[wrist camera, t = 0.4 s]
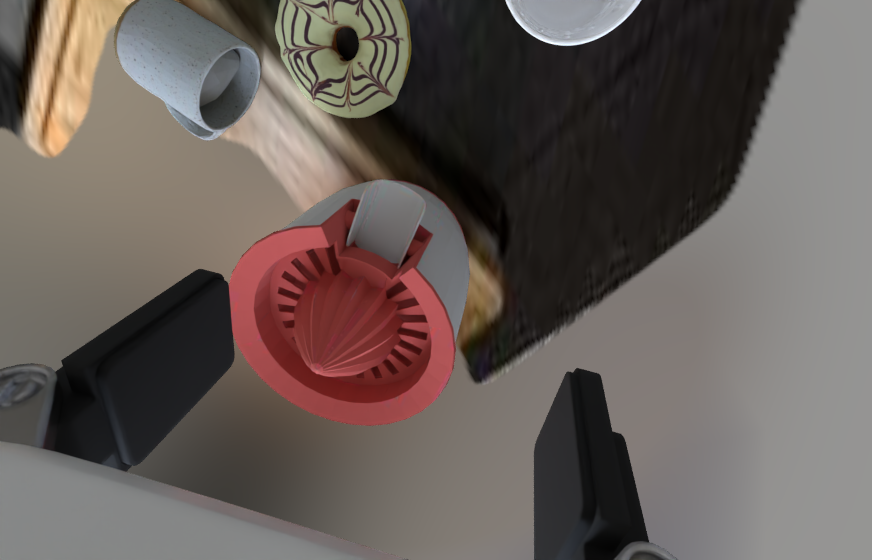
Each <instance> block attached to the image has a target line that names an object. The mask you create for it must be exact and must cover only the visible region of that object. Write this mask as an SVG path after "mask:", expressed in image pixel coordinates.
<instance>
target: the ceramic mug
mask: <svg viewBox="0 0 872 560" xmlns="http://www.w3.org/2000/svg"><path fill="white" fill-rule="evenodd" d="M114 46H115V54H116V57H117V58H118V61H119V63H120V65H121V66H122V68H123V69H124V70H125V71H126V73H127V74H128V75H129V76H130V77H131V78H132V79H133V80H135V81H136V82H137V83H138V84H139V85H141V86H142V87H144V88H145V89H146V90H148V91H149V92H151V93H153V94H154V95H156V96H157V97H159V98H160V99H162V100H163V101H164V102H165V104H166V106H167V109H168V110H169V111H170V112H171V114H172V115H173V117H174V118H175V119H176V120H177V121H178V122H179V123H180V124H181V125H182V126H183V127H184V128H185V129H187V130H188V131H189V132H190V133H192V134H193V135H195V136H197V137H199V138H201V139H203V140H212V139H215V138H217V137H218V136H220V135H221V134H222V133H224V132H225V131H226V129H227V128H229V127H231V126H232V125H234V124H235V123H236V122H237V121H239V119H240V118H241V117H242V116H243V115H244V114H245V112H246V111H247V110H248V108H249V107H250V105H251V103H252V101H253V99H254V97H255V94H256V91H257V89H258V85H259V80H260V71H261V67H260V61H259V57H258V55H257V53H256V52H255V50H254V49H253V48H252V47H251V46H250V45H248V44H247V43H245V42H244V41H242V40H240V39H239V38H237V37H235V36H234V35H232V34H230V33H229V32H227V31H225V30H224V29H222V28H221V27H219V26H217V25H216V24H214V23H212V22H210V21H209V20H207V19H205V18H203V17H202V16H200V15H199V14H197V13H196V12H194V11H193V10H191V9H190V8H188V7H186V6H185V5H183V4H181V3H179V2H176V1H174V0H135V1H134V2H132V3H131V4H130V5H128V6H127V7H126V9H125V10H124V12H123V13H122V14H121V16H120V17H119V19H118V22H117V25H116V28H115V33H114Z"/></svg>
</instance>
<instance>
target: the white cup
mask: <svg viewBox="0 0 872 560" xmlns="http://www.w3.org/2000/svg"><path fill="white" fill-rule="evenodd" d="M640 1H641V0H506V3H507V5H508V7H509V9H510V11H511V13H512V15H513V16H514V18H515V19H516V21H517V22H518V23H519V24H520V25H521V26H522V27H523V28H524V29H525V30H526V31H527V32H528V33H529V34H531V35H532V36H534V37H536V38H537V39H539V40H542V41H544V42H547V43H550V44H555V45H564V46H568V45H578V44H583V43H587V42H590V41H593V40H595V39H598V38H600V37H602V36H604V35H605V34H607V33H609V32H610V31H612V30H613V29H614V28H616V27H617V26H618V25H620V24H621V23H622V22H623V21H624V20H625V19H626V18H627V17H628V16H629V15H630V14H631V13H632V12H633V11H634V9H635V8H636V7H637V5H638V4H639V3H640Z"/></svg>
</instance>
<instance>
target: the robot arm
mask: <svg viewBox="0 0 872 560" xmlns="http://www.w3.org/2000/svg"><path fill="white" fill-rule="evenodd" d="M233 361H234V343H233V331H232V319H231V307H230V295H229V285H228V283H227V282H226V281H224V277H223V276H222V275H221V274H219V273H215V272H211V271H207V270H203V269H198V270H196V271H194V272H193V273H191V274H190V275H188V276H187V277H185V278H184V279H182V280H181V281H179V282H178V283H176V284H175V285H173V286H172V287H170V288H169V289H167V290H166V291H164V292H163V293H161V294H160V295H158V296H157V297H155V298H154V299H152V300H151V301H149V302H148V303H146V304H145V305H143V306H142V307H140V308H139V309H138V310H136V311H134V312H133V313H132V314H130V315H128V316H127V317H125V318H124V319H122V320H121V321H119V322H118V323H116V324H115V325H114V326H112V327H111V328H109V329H108V330H106V331H105V332H103V333H102V334H100V335H99V336H97V337H96V338H94V339H93V340H91V341H90V342H88V343H87V344H85V345H84V346H82V347H81V348H79V349H78V350H76V351H75V352H73V353H72V354H70V355H69V356H67V357H66V358H64V359H63V360H62V364H63V367H62V368H60V369H59V370H57V371H56V372H55V371H54V370H53V369H52V368H51V367H48V366H46V365H42V364H32V363H31V364H20V365H15V366H11V367H6V368H3V369H0V560H408V559H405V558H401V557H398V556H395V555H392V554H389V553H386V552H382V551H379V550H376V549H373V548H370V547H367V546H364V545H360V544H357V543H354V542H351V541H348V540H345V539H342V538H338V537H335V536H332V535H329V534H326V533H322V532H319V531H316V530H313V529H309V528H306V527H303V526H300V525H296V524H294V523H290V522H287V521H284V520H281V519H278V518H274V517H271V516H268V515H265V514H262V513H258V512H255V511H252V510H249V509H245V508H242V507H239V506H236V505H232V504H229V503H226V502H223V501H219V500H216V499H213V498H210V497H206V496H203V495H200V494H197V493H193V492H190V491H187V490H184V489H180V488H177V487H174V486H171V485H167V484H164V483H160V482H157V481H154V480H151V479H148V478H144V477H141V476H138V475H134V474H131V473H128V472H127V470H128V469H129V468H130V467H131V466H132V465H133V466H135V465H138V464H139V463H141V462H142V461H143V460H144V459H145V458H146V457H147V456H148V455H149V454H150V452H152V450H153V449H154V448H155V447H156V446H157V445H158V444H159V443H160V442H161V441H162V440H163V439H164V438H165V437H166V435H167V434H168V433H169V432H170V431H171V430H172V429H173V428H174V427H175V426H176V425H177V424H178V423H179V422H180V421H181V419H182V418H183V417H184V416H185V415H186V414H187V413H188V412H189V411H190V410H191V409H192V408H193V407H194V406H195V405H196V404H197V402H198V401H199V400H200V399H201V398H202V397H203V396H204V395H205V394H206V393H207V392H208V391H209V390H210V389H211V387H212V386H213V385H214V384H215V383H216V382H217V381H218V380H219V379H220V378H221V377H222V376H223V374H224V373H225V372H226V371H227V370H228V369H229V368H230V367H231V365H232V363H233ZM534 560H678V559H677V558H676V557H674V556H673V555H672V554H670V553H669V552H668V551H666V550H665V549H663V548H661V547H659V546H657V545H655V544H653V543H649V540H648V536H647V531H646V527H645V523H644V518H643V514H642V510H641V506H640V501H639V497H638V493H637V489H636V484H635V480H634V476H633V472H632V467H631V463H630V459H629V454H628V450H627V446H626V442H625V439H624V437H623V436H622V435H621V434H619V433H616V432H612V428H611V423H610V419H609V414H608V409H607V404H606V400H605V394H604V389H603V384H602V380H601V376H600V375H599V374H597V373H594V372H590V371H587V370H583V369H579V368H576V369H575V371H574V372H573V373H572V372H567V373H566V374H565V376H564V379H563V381H562V383H561V386H560V388H559V390H558V393H557V395H556V397H555V399H554V401H553V404H552V406H551V409H550V411H549V413H548V415H547V417H546V420H545V422H544V425H543V427H542V429H541V431H540V434H539V436H538V438H537V441H536V444H535V450H534Z"/></svg>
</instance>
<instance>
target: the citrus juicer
mask: <svg viewBox="0 0 872 560" xmlns="http://www.w3.org/2000/svg"><path fill="white" fill-rule="evenodd" d="M469 276H470V271H469V260H468V250H467V246H466V242H465V237H464V234H463V231H462V228H461V225H460V224H459V222H458V220H457V218H456V216H455V214H454V213H453V212H452V211H451V210H450V208H449V207H448V206H447V205H446V203H445V202H443V201H442V200H441V199H440V198H439V197H437V196H436V195H435V194H434V193H432V192H430V191H429V190H427V189H425V188H423V187H422V186H419V185H416V184H413V183H410V182H407V181H401V180H394V179H388V180H384V179H377V180H373V181H368V182H365V183H361V184H358V185H354V186H351V187H347V188H344V189H342V190H340V191H338V192H336V193H335V194H333V195H331V196H329V197H327V198H326V199H324V200H322V201H320V202H319V203H317V204H316V205H314V206H313V207H312V208H310V209H309V210H308V211H306V212H305V213H304V214H302V215H301V216H300V217H298V218H297V219H295V220H294V221H293V222H291V223H290V224H289V225H287V226H286V227H284V228H283V229H282V230H280V231H276V232H273V233H272V234H270V235H268V236H266V237H264V238H262V239H261V240H259V241H257V242H256V243H255V244H254V245H253V246H252V247H250V248H249V249H248V250H247V251H246V252H245V253H244V254H243V255H242V257H241V258H240V260H239V262H238V264H237V265H236V267H235V269H234V270H233V273H232V276H231V280H230V283H229V295H230V307H231V319H232V331H233V335H234V338H235V340H236V343H237V345H238V347H239V349H240V350H241V352H242V354H243V355H244V357H245V359H246V360H247V362H248V363H249V364H250V366H251V367H252V368H253V369H254V370H255V372H256V373H257V374H258V375H259V376H260V378H261V379H262V380H264V381H265V382H266V383H267V384H268V385H269V386H270V387H271V388H272V389H274V390H275V391H276V392H277V393H279V394H280V395H281V396H283V397H284V398H286V399H287V400H289V401H290V402H292V403H293V404H295V405H297V406H298V407H300V408H302V409H304V410H306V411H309V412H310V413H312V414H315V415H318V416H321V417H324V418H326V419H329V420H332V421H337V422H342V423H346V424H353V425H367V426H371V425H382V424H390V423H394V422H397V421H401V420H405V419H407V418H409V417H411V416H413V415H415V414H417V413H419V412H421V411H423V410H424V409H425V408H426V407H427V406H429V405H430V404H431V403H432V402H433V401H434V400H436V399H437V397H438V396H439V395H440V393H441V392H442V391H443V389H444V388H445V386H446V385H447V383H448V381H449V378H450V376H451V373H452V370H453V367H454V360H455V352H456V346H455V342H456V338H457V334H458V331H459V327H460V323H461V319H462V315H463V311H464V307H465V303H466V298H467V291H468V284H469Z"/></svg>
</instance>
